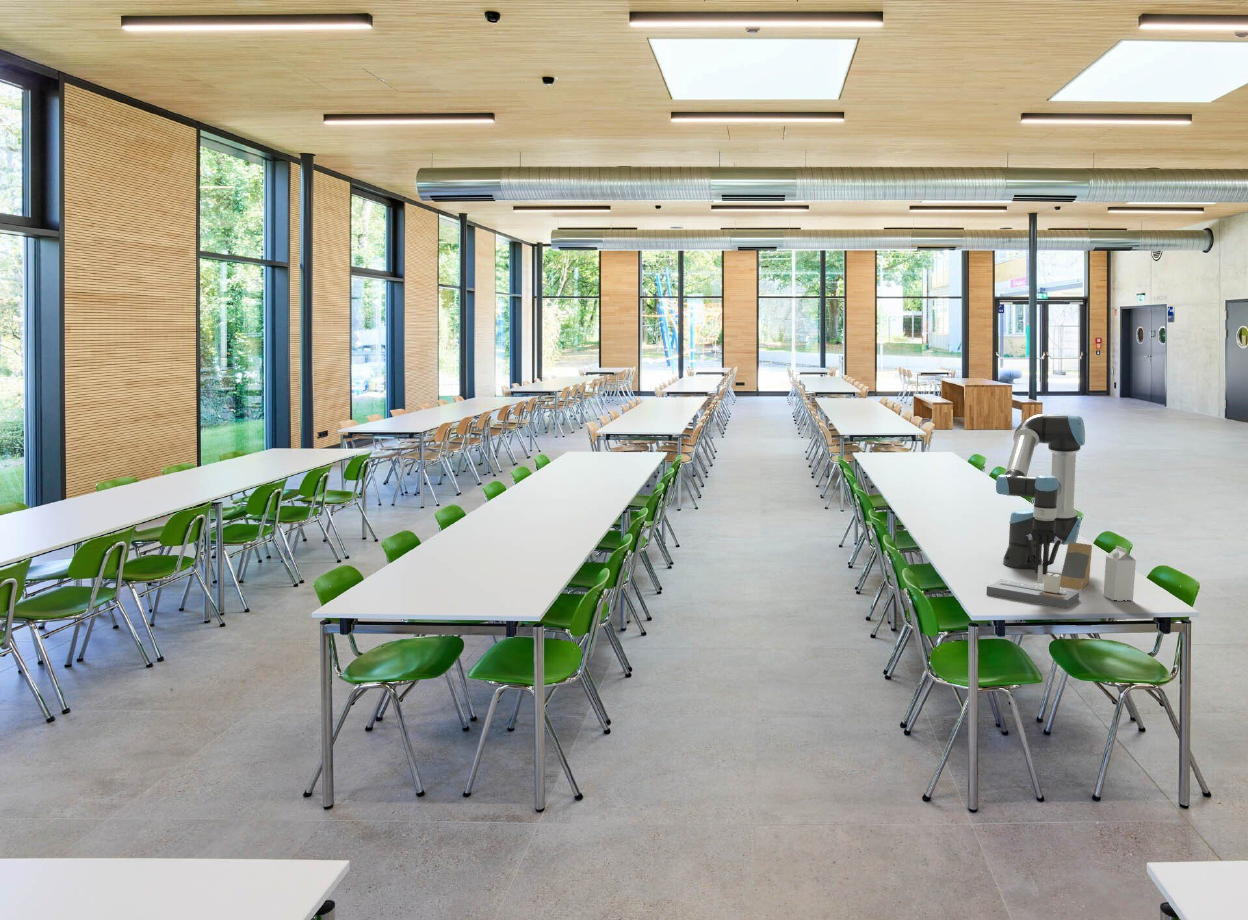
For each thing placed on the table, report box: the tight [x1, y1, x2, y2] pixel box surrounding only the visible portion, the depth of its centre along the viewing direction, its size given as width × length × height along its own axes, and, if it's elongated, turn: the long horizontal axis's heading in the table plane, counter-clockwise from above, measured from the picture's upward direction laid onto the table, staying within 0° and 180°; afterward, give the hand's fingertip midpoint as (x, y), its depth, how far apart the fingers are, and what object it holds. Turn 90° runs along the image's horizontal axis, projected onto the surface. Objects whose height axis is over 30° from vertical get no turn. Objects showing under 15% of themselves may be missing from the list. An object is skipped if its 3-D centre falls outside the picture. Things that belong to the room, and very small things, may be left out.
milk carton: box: [1103, 545, 1137, 602], centre depth 341 cm, size 7×7×19 cm
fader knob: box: [1043, 572, 1061, 593], centre depth 339 cm, size 4×4×6 cm
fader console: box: [986, 578, 1080, 609], centre depth 344 cm, size 14×28×3 cm, turn 48°
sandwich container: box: [1060, 542, 1093, 591], centre depth 362 cm, size 9×15×15 cm, turn 144°
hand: (1040, 582), depth 342 cm, fingers closed
